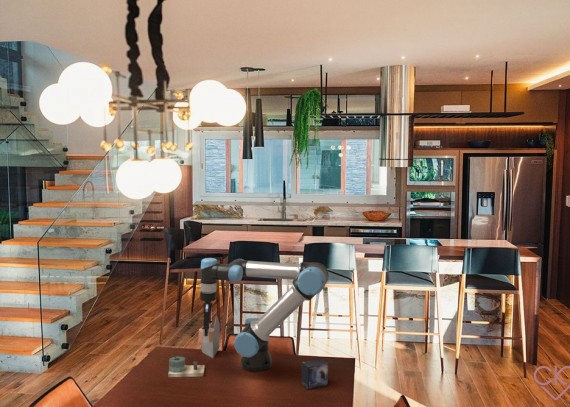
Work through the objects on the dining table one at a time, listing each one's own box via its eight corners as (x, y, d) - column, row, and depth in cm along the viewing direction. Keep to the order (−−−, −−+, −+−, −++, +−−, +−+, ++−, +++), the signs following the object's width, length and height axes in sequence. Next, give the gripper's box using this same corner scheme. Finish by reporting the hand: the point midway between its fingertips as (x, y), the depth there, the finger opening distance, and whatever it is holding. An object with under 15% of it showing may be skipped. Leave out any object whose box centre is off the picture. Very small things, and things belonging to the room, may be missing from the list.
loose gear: (214, 337, 249) (214, 327, 249) (213, 342, 242) (213, 332, 242) (199, 337, 249) (199, 327, 248) (198, 342, 242) (198, 331, 241)
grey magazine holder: (205, 346, 281) (205, 311, 280) (219, 347, 281) (219, 311, 280) (198, 357, 265) (198, 320, 264) (213, 358, 265) (213, 320, 263)
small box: (307, 390, 227) (308, 366, 227) (300, 384, 233) (300, 361, 232) (328, 385, 232) (328, 362, 232) (320, 380, 238) (321, 358, 237)
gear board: (204, 368, 251) (204, 354, 251) (203, 376, 241) (203, 362, 241) (170, 368, 250) (170, 355, 249) (168, 377, 240) (168, 363, 239)
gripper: (201, 286, 253) (200, 332, 255) (198, 296, 234) (196, 346, 235) (217, 286, 254) (215, 332, 256) (215, 297, 234) (213, 347, 236)
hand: (206, 339), depth 246 cm, fingers closed on loose gear, 7 cm apart
